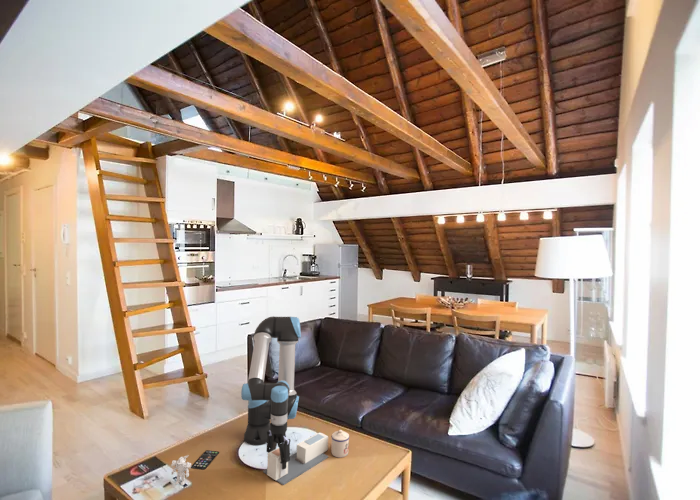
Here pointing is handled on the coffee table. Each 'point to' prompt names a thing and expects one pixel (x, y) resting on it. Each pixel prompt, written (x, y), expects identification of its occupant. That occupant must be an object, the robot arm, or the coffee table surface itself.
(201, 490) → the coffee table surface
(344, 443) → the teacup with lid
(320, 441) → the cream long box
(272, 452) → the box with pink panel
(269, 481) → the coffee table surface
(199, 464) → the smartphone
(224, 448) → the coffee table surface
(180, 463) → the hat wearing toy figure
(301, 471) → the mat
